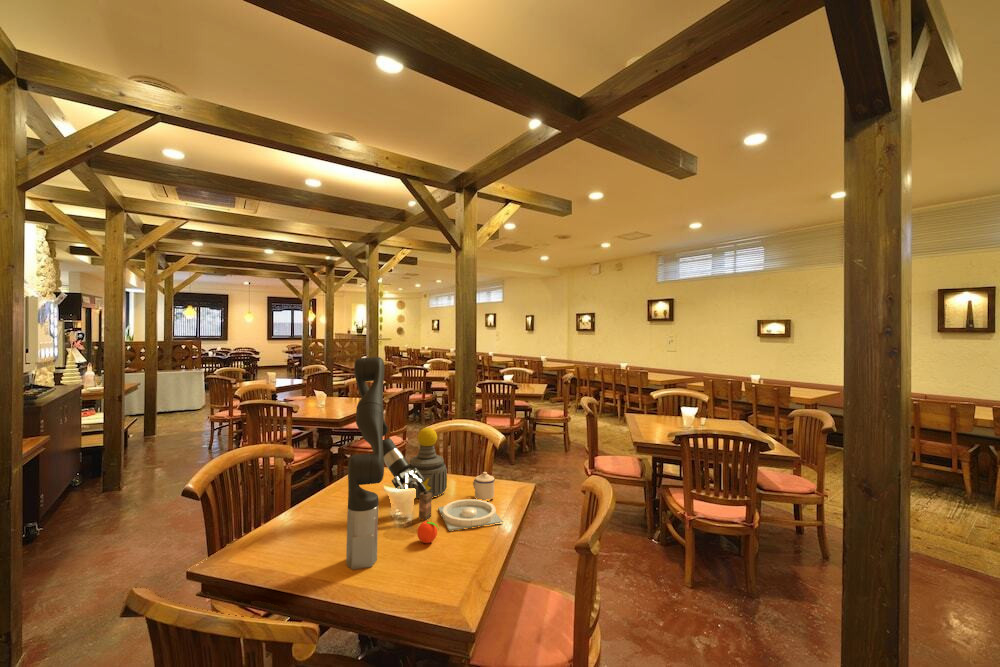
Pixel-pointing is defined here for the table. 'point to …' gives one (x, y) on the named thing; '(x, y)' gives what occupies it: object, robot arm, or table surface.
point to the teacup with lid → (484, 486)
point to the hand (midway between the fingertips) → (418, 495)
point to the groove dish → (468, 514)
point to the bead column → (425, 505)
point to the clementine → (427, 531)
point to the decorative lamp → (429, 464)
